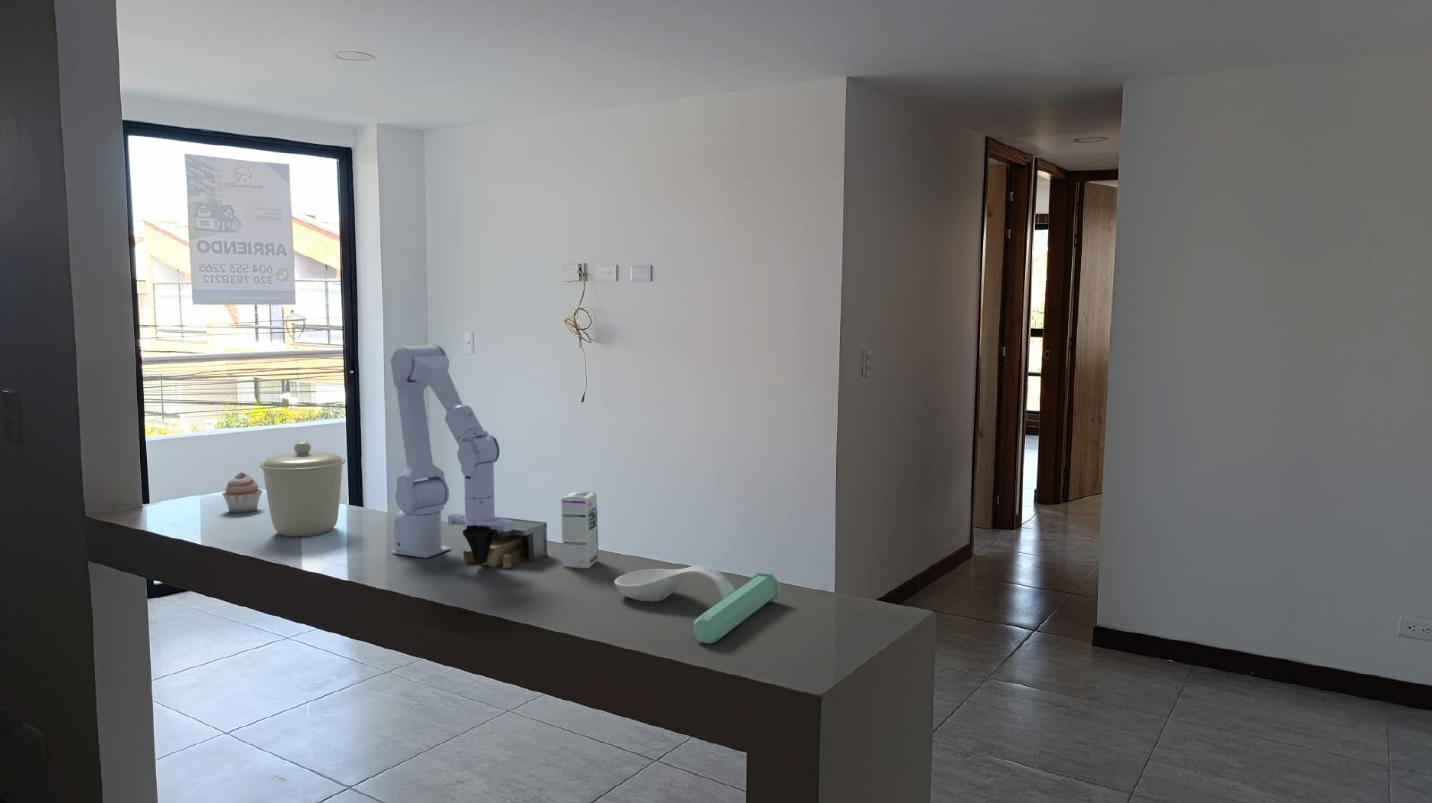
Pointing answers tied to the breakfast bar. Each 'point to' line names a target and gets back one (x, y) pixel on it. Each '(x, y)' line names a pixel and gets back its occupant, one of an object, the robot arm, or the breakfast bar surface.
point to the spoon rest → (667, 582)
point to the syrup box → (579, 529)
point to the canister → (303, 490)
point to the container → (736, 608)
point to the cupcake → (242, 494)
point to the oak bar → (502, 549)
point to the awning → (532, 542)
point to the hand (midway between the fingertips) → (481, 562)
